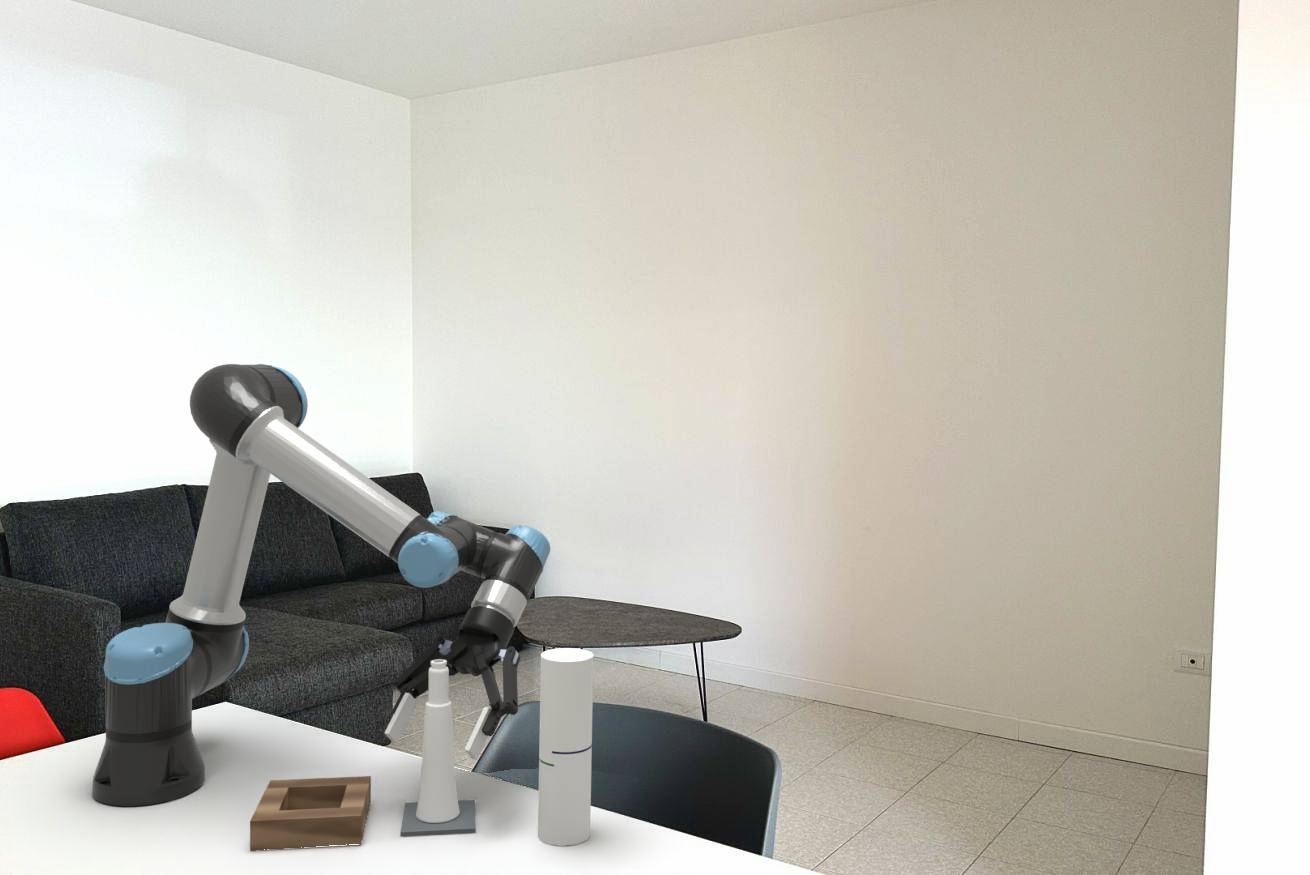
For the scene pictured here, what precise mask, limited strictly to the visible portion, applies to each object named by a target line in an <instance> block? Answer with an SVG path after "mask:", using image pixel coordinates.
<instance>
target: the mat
mask: <svg viewBox="0 0 1310 875" xmlns="http://www.w3.org/2000/svg"><path fill="white" fill-rule="evenodd" d="M458 805H459V811H460V813H459V815H458V816H457V817H456V818H455V819H453V820H451V821H448V822H443V823H426V822H423V821H420V820H419V819H418V818H417V817H416V811H417V806H418V801H416V802H414V801H413V802H405V803H404V807H403V814H402V821H401V827H400V836H404V837H421V836H436V835H439V836H440V835H442V836H443V835H456V834H458V835H460V834H476V799H458ZM400 836H399V837H400Z"/></svg>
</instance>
